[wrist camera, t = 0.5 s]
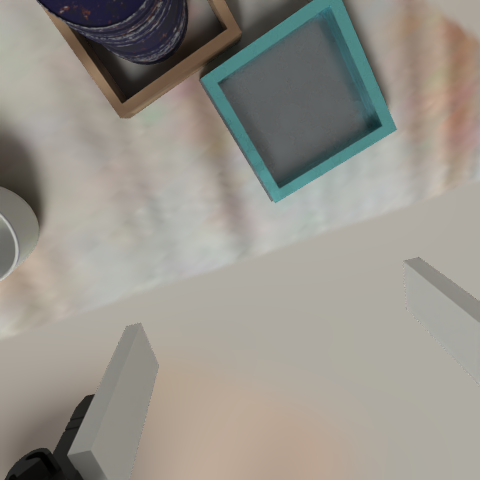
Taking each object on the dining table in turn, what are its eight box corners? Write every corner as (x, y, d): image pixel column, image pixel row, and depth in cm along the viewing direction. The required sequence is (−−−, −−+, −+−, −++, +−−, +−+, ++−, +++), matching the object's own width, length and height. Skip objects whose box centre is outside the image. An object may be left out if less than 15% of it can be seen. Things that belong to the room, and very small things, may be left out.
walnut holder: (36, -16, 33) (15, -31, 30) (156, -115, 31) (148, -143, 28) (129, 118, 38) (120, 118, 35) (240, 40, 36) (241, 32, 32)
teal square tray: (199, 81, 37) (196, 77, 34) (326, -7, 34) (336, -21, 31) (270, 199, 42) (274, 206, 38) (386, 129, 39) (400, 130, 36)
